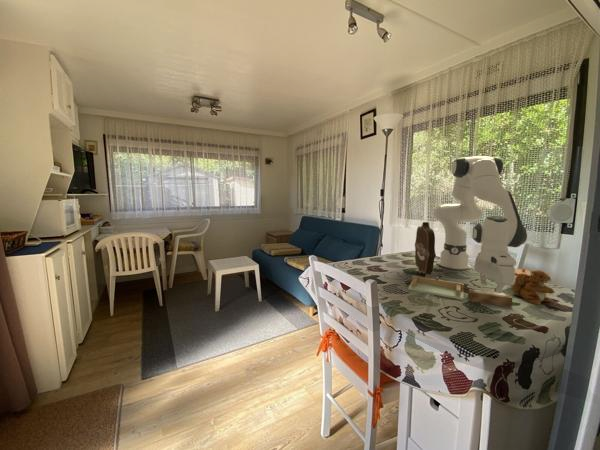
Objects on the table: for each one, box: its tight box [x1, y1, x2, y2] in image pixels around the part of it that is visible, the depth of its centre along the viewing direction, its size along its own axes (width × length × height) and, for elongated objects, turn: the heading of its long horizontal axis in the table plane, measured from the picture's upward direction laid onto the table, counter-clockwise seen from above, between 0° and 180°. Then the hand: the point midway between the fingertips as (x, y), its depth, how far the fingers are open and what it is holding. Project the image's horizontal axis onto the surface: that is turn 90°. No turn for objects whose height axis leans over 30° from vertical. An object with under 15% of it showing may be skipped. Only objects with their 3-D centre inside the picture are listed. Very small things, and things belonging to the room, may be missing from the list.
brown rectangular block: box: [467, 288, 514, 307], centre depth 105 cm, size 14×5×4 cm, turn 69°
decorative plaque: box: [414, 221, 437, 277], centre depth 137 cm, size 30×3×30 cm, turn 168°
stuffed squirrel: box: [511, 269, 555, 306], centre depth 108 cm, size 10×14×13 cm
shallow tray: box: [407, 274, 465, 301], centre depth 117 cm, size 11×22×5 cm, turn 57°
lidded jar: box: [512, 268, 531, 286], centre depth 121 cm, size 11×11×9 cm
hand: (490, 288), depth 104 cm, fingers open, 8 cm apart
